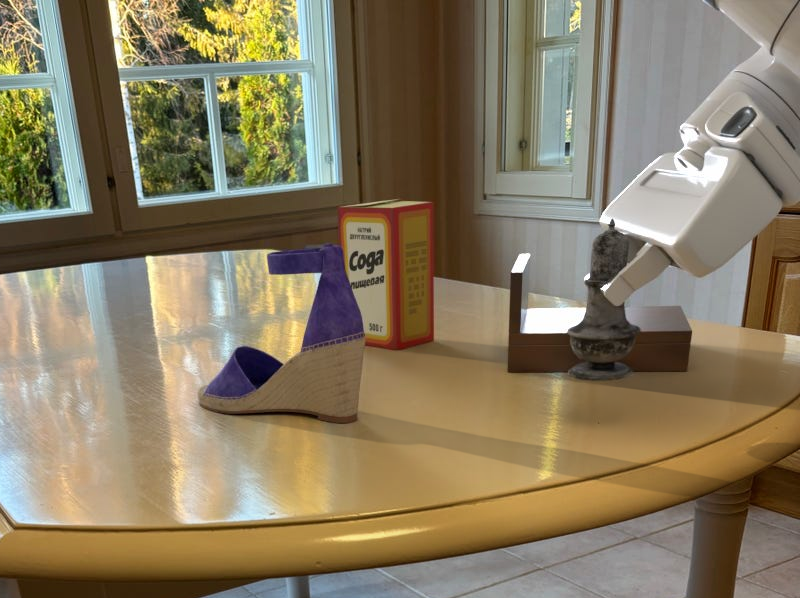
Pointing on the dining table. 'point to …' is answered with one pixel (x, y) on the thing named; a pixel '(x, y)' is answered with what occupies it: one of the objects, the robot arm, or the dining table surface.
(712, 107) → the robot arm
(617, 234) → the salt shaker
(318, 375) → the sandal
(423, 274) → the baking soda box
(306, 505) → the dining table surface
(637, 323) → the wooden bookend
